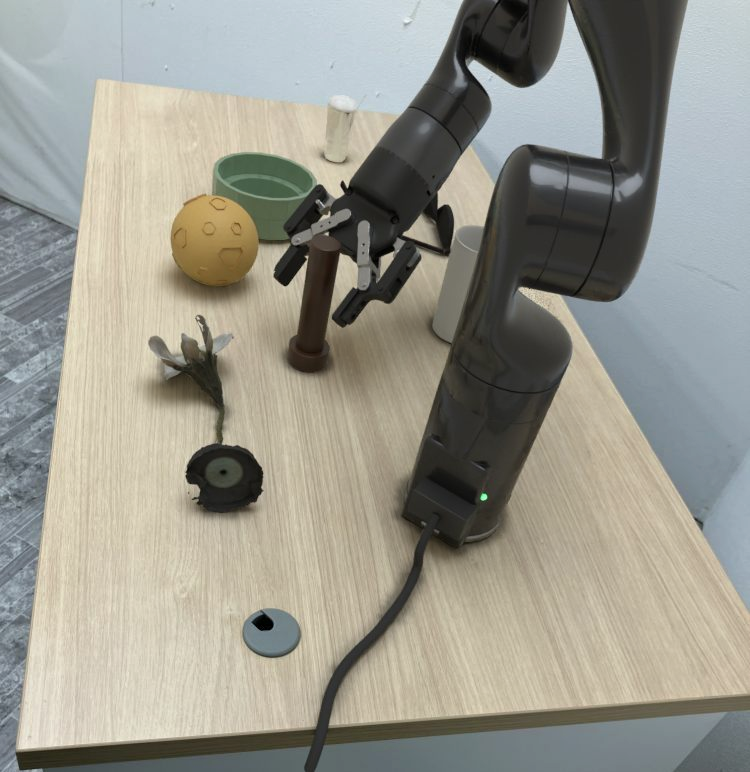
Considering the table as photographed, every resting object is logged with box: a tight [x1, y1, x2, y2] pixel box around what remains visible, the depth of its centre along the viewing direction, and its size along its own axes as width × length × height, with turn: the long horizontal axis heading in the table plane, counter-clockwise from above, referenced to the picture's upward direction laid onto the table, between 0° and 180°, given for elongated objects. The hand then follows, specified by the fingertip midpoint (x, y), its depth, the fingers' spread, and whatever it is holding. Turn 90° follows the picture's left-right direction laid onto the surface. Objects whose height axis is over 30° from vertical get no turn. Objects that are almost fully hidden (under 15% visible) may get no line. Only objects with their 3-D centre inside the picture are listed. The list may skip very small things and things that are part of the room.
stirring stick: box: [286, 234, 341, 373], centre depth 83 cm, size 4×4×14 cm
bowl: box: [211, 151, 318, 241], centre depth 106 cm, size 13×13×6 cm
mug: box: [431, 224, 484, 344], centre depth 95 cm, size 10×7×12 cm, turn 1°
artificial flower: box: [147, 314, 265, 513], centre depth 75 cm, size 9×22×10 cm, turn 11°
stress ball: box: [169, 193, 260, 287], centre depth 92 cm, size 10×10×10 cm
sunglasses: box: [339, 180, 455, 255], centre depth 112 cm, size 17×14×5 cm
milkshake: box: [323, 94, 367, 163], centre depth 122 cm, size 4×5×10 cm
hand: (307, 302), depth 81 cm, fingers open, 8 cm apart
